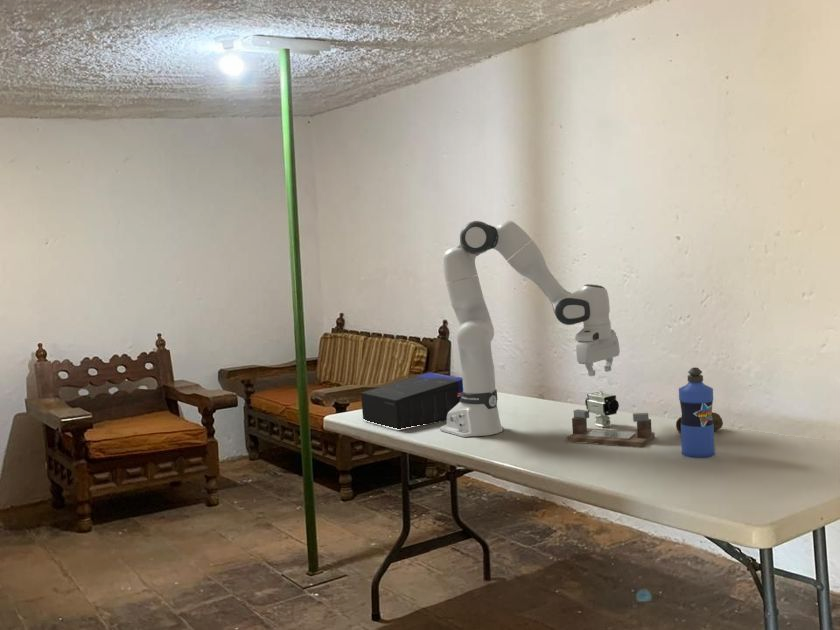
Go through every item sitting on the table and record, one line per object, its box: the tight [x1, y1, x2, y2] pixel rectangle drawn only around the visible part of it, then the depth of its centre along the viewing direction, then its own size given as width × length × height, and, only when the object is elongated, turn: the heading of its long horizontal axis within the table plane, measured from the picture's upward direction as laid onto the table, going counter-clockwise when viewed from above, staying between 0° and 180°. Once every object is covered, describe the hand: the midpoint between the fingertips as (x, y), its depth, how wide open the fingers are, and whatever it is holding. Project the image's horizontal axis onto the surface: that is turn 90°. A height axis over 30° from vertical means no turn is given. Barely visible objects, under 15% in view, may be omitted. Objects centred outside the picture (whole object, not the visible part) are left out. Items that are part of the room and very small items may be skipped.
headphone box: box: [360, 372, 463, 429], centre depth 310 cm, size 25×35×14 cm
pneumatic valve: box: [584, 390, 620, 428], centre depth 276 cm, size 6×12×12 cm, turn 30°
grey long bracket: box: [573, 408, 649, 439], centre depth 259 cm, size 24×8×7 cm, turn 59°
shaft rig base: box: [566, 416, 656, 448], centre depth 259 cm, size 24×13×6 cm, turn 59°
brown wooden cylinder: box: [675, 411, 724, 435], centre depth 259 cm, size 15×7×7 cm, turn 119°
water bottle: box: [678, 367, 716, 459], centre depth 236 cm, size 9×9×25 cm
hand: (600, 373), depth 275 cm, fingers open, 8 cm apart
